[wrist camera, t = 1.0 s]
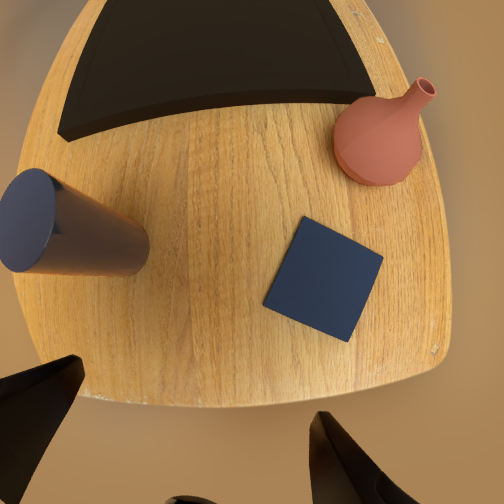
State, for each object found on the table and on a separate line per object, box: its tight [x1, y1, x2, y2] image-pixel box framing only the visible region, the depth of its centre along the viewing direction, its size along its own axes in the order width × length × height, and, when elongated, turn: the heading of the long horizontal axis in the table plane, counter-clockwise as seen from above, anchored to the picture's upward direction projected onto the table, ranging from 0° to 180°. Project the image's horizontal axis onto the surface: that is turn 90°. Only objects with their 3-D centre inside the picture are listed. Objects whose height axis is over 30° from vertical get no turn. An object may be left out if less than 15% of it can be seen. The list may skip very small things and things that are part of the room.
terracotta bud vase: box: [334, 77, 437, 186], centre depth 18 cm, size 8×8×12 cm
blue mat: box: [263, 216, 384, 342], centre depth 22 cm, size 8×8×1 cm
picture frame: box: [57, 0, 376, 142], centre depth 25 cm, size 40×2×33 cm
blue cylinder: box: [0, 168, 149, 277], centre depth 16 cm, size 5×5×13 cm
